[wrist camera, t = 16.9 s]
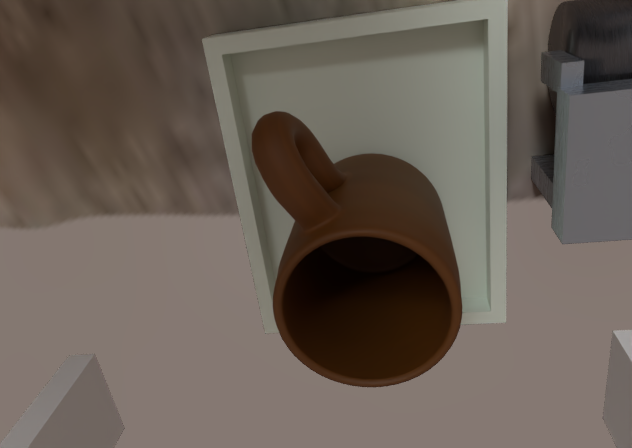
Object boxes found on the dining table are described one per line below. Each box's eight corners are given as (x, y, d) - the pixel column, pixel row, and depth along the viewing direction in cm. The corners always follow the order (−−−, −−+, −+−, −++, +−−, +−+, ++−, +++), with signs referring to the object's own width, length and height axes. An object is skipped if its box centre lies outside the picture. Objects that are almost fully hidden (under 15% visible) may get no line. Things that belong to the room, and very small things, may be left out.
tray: (271, 314, 34) (265, 333, 32) (214, 34, 27) (201, 39, 25) (499, 302, 31) (506, 322, 30) (498, -6, 25) (507, -5, 23)
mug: (230, 119, 28) (162, 183, 20) (359, 41, 26) (345, 75, 17) (345, 296, 32) (330, 414, 23) (467, 242, 29) (500, 352, 21)
